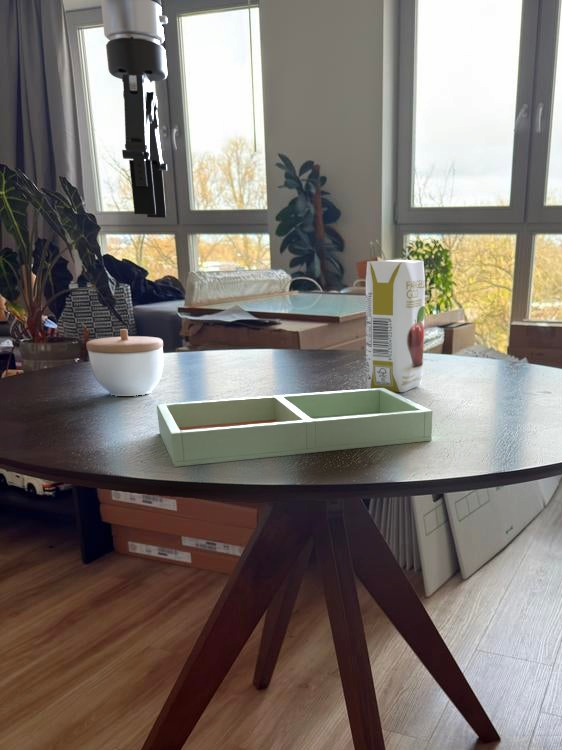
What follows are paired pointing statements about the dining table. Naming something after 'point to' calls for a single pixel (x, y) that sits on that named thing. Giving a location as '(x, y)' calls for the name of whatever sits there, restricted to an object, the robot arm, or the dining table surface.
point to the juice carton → (395, 324)
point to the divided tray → (289, 425)
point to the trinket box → (127, 363)
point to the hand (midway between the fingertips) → (151, 216)
